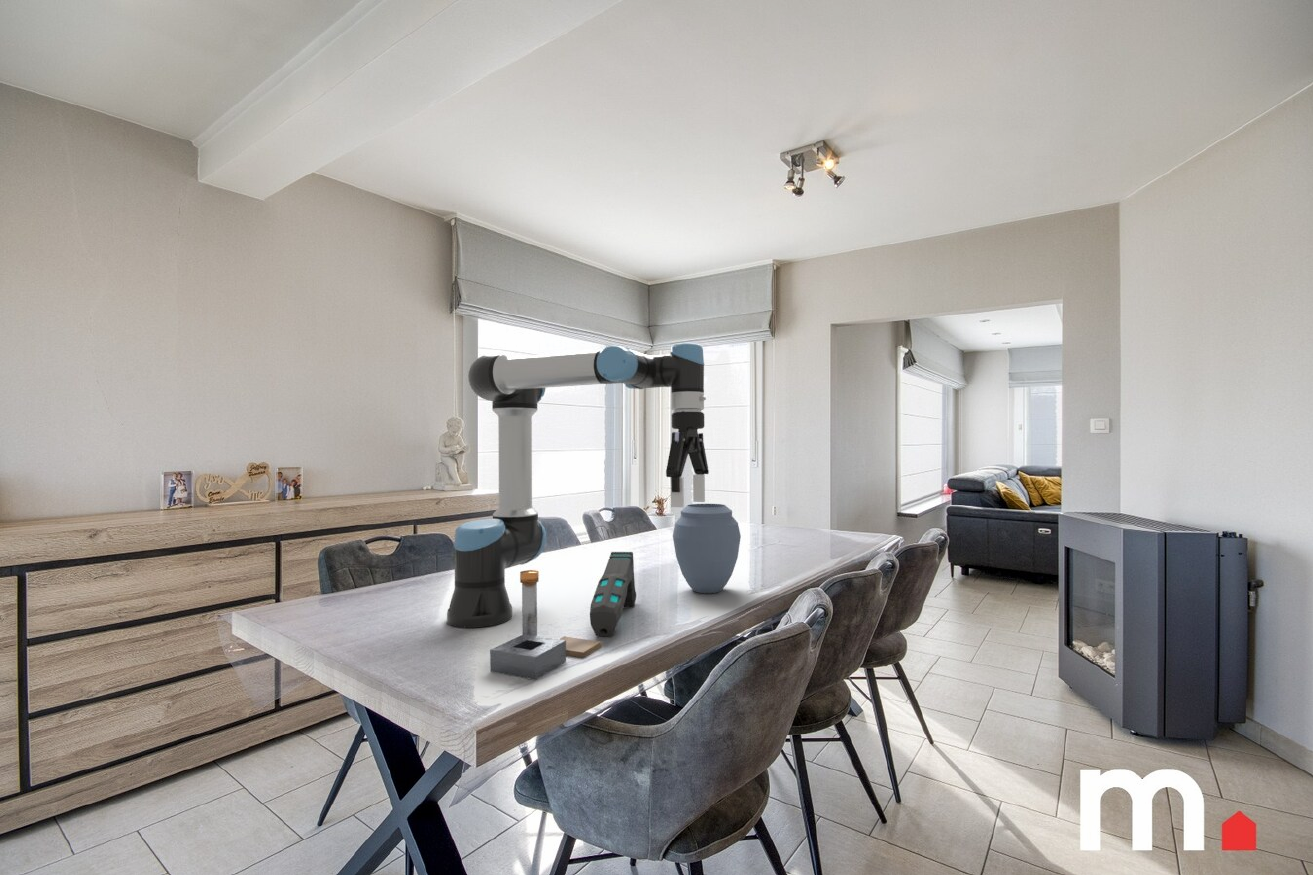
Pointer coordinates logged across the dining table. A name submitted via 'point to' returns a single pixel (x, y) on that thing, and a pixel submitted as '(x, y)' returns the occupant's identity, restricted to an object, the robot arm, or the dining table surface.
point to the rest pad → (580, 646)
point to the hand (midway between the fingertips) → (688, 504)
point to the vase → (706, 546)
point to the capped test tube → (529, 601)
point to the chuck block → (528, 656)
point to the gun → (613, 594)
